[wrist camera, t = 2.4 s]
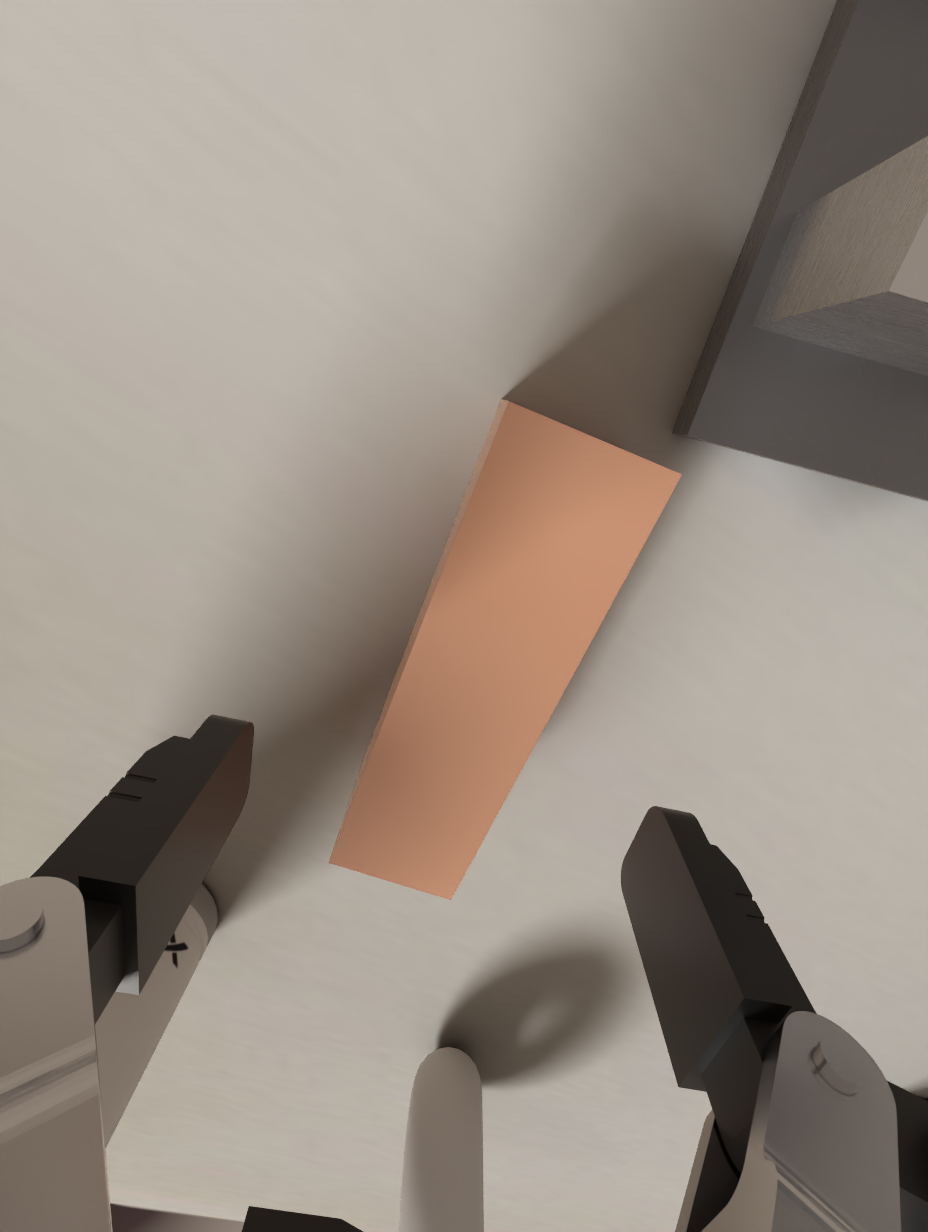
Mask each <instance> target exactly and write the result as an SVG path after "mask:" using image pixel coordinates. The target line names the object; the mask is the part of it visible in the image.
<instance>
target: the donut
mask: <svg viewBox="0 0 928 1232" xmlns="http://www.w3.org/2000/svg"><path fill="white" fill-rule="evenodd" d="M399 1232H484V1213H483V1122H482V1087H481V1079H480V1075H479V1073H478V1070H477V1067H476V1065H475V1064H474V1062H473V1061H472V1060H471V1058H470V1057H469V1056H468V1055H467V1054H466V1053H464V1052H463V1051H461V1050H460V1049H456V1048H451V1047H446V1048H441V1049H437V1050H436V1051H434V1052H432V1053H431V1054H429V1055H428V1056H427V1057H426V1059H425V1060H424V1061H423V1062H422V1063H421V1065H420V1067H419V1069H418V1072H417V1074H416V1076H415V1080H414V1084H413V1088H412V1094H411V1101H410V1107H409V1114H408V1121H407V1130H406V1140H405V1149H404V1161H403V1174H402V1186H401V1202H400V1220H399Z"/></svg>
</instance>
